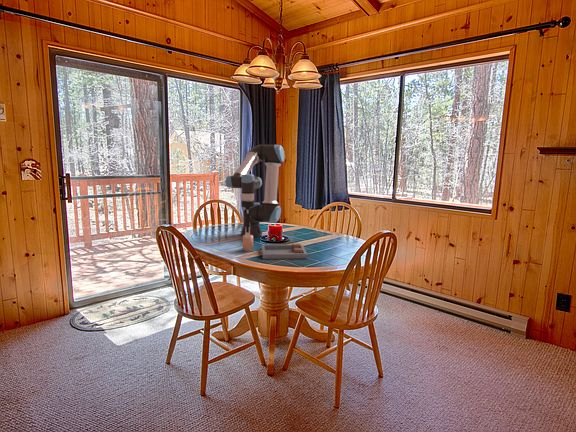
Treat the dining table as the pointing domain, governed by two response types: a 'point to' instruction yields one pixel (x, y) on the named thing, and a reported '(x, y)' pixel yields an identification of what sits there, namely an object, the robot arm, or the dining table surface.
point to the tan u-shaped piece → (248, 243)
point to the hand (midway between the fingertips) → (247, 235)
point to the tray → (281, 252)
